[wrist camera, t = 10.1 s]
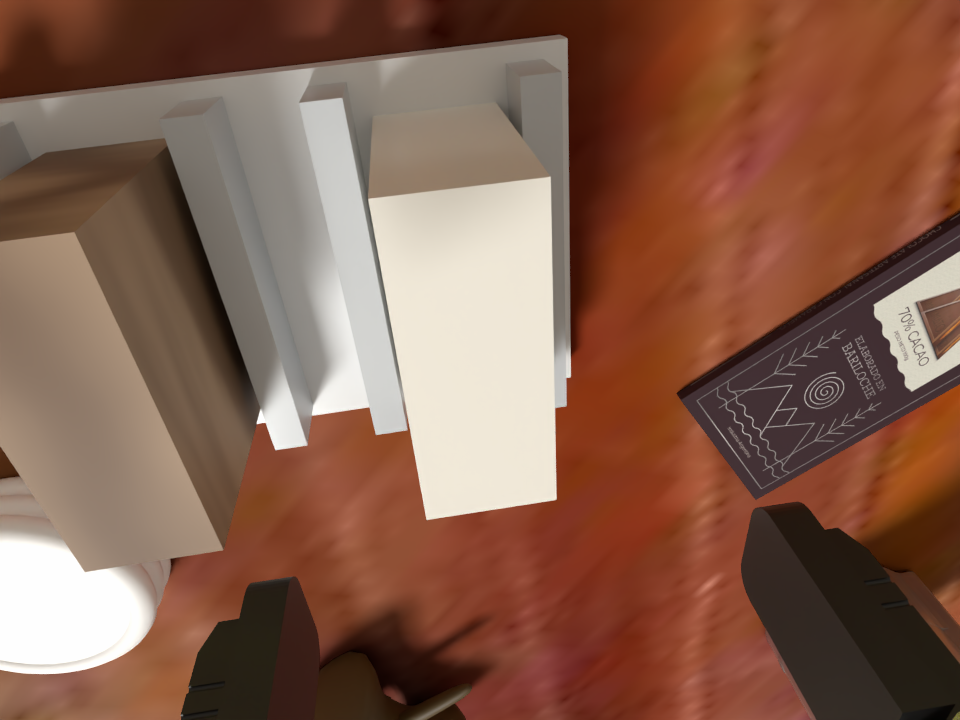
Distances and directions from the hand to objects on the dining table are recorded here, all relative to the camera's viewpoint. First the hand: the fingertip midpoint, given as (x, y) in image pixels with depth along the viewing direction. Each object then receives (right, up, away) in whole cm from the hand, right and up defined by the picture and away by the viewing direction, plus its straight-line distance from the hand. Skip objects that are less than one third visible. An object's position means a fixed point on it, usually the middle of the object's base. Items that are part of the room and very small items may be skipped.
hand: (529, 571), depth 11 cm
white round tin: (-21, -5, +19) cm, 29 cm away
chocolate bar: (+18, +5, +19) cm, 27 cm away
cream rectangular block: (-2, +8, +12) cm, 14 cm away
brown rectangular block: (-12, +6, +11) cm, 18 cm away
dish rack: (-7, +8, +12) cm, 16 cm away
